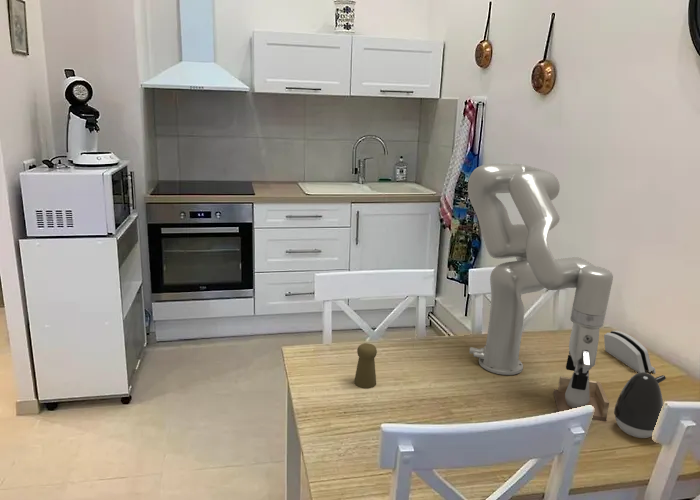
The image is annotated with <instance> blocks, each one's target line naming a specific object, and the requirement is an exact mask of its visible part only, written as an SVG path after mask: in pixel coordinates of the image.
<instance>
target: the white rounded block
mask: <svg viewBox="0 0 700 500" xmlns="http://www.w3.org/2000/svg"><path fill="white" fill-rule="evenodd" d="M603 339H604V351H605V352H606V353H608V354H609V355H611V356H612V357H614V358H616V359H617V360H618V361H620V362H622V363H623V364H625V365H626V366H628V367H629V368H630V369H632V370H634V371H635V372H637V373H640V372H645V373H653V374H654V373H655V374H656V373H657V372H656V368H655V367H654V366H652V364H651V359H650V355H649V351H648V349H647V347H645V346H644V345H643V344H642V343H641V342H640V341H639V340H637V339H636V338H635V337H633V336H631V335H630V334H628V333H626V332H624V331H621V330H617V329H616V330H611V331H610V332H606V333H605V334H604V336H603ZM651 371H652V372H651Z"/></svg>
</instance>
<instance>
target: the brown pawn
mask: <svg viewBox="0 0 700 500" xmlns="http://www.w3.org/2000/svg"><path fill="white" fill-rule="evenodd" d="M377 350H378V349H377V347H376V346H375V345H374V344H372V343H367V342H366V343H365V342H364V343H362V344H360V345H358V347H357V350H356V353H357V356H358V359H357V366H356V371H355V375H354V381H353V385H355V386H356V387H358V388H360V389H363V390H364V389H365V390H366V389H373V388H375V387H376V386H377V375H376V363H375V358H376V356H377V355H378V354H377V353H378V351H377Z"/></svg>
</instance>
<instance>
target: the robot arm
mask: <svg viewBox="0 0 700 500" xmlns="http://www.w3.org/2000/svg"><path fill="white" fill-rule="evenodd" d="M560 189H561V187H560V182H559V180H558V178H557V177H556V175H555V174H553V173H552V172H550V171H548V170H545V169H540V168H536V167H532V166H529V165H526V164H522V163H486V164H482V165H479V166H478V167H476V168H475V169H473V171H472V172H471V173H470V176H469V178H468V183H467V193H468V198H469V200H470V203H471V205H472V207H473V210H474V212H475V215H476V217H477V220H478V225H479V227H480V231H481V235H482V238H483V242H484V245H485V248H486V250H487V253H488V255H489V256H490V257H492V258H494V259H498V260H499V259H500V260H501V259H512V258H515V259H516V260H513V261H507V262H503V263H500V264H497V265H496V266H495V267H494V268H493V269H492V270H491V273H490V277H489V280H490V281H489V283H490V306H489V307H490V308H489V309H490V310H489V316H488V317H489V319H488V327H487V336H486V342H485V343H486V344H484V346H483V347H480V348H476V347H472V346H470V347H469V354H470V355H473V358H478V364H479V366H480V367H481V368H482V369H484V370H486V371H487V372H490V373H493V374H497V375H502V376H513V375H518V374H520V373H521V372H522V371H523V370H524V365H523V363H522V361H521V360H520V359H519V357H520V349H521V343H522V341H521V340H522V335H523V327H524V321H525V311H526V310H525V306H524V303H523V300H522V295H525V294H530V293H531V294H532V293H536V292H539V291H542V290H544V289H545V290H549V291H560V290H565V289H566V290H567V289H572V288H573V289H575V292H574V297H573V298H574V299H573V302H572V308H571V312H570V321H571V322H572V329H571V332H570V336H569V341H568V343H569V344H568V355H567V359H566V364H565V369H566V370H567V371H571V372H572V371H573V373H574V370H575V366H574V364H573V362H574V363H575V364H576V372H575V373H574V375H573V374H572V375H573V380H572V385H571V387H572V388H573V389H579V390H585V389H586V384H587V380H588V375H589V374H590V370H589V367H590V366H592V368H593V367H594V366H595V365H596V360H597V355H598V348H599V340H600V329H601V328H603V326H604V323H605V318H606V315H607V309H608V305H609V304H608V303H609V299H610V295H611V289H612V285H613V281H614V280H613V279H614V274H613V273H612V271H610V270H609V269H607V268H605V267H601V266H596V265H594V264H592V263H590V262H589V261H587V260H586V259H584V258H581V257H578V256H577V257H575V256H574V257H572V256H571V257H565V258H557V259H555V258H554V256H553V254H552V252H551V250H550V247H549V244H548V234H549V232H550V231H551V230H553V229H554V228H555V227H556V226H557V225H558V224H559V222H560V219H561V218H560V214H559V213H558V211H557V210H556V208H555V206H554V204H553V202H552V201H553V200H555V199H556V198H557V197H558V195H559V193H560ZM497 194H510V196H511V199H512V201H513V202H514V205H515V206H516V208H517V211H518V212H519V215H520V217H521V219H522V221H523V223H524V224H521V223H520V224H513V223H512V222H511V219H510V217H509V213H508V210H507V208H506V207H505V205H504V204H503V202H502V201H501V199H499V198H498V197H497ZM579 360H581V361H583V362H579ZM579 365H581V366H582V368H580V369H579ZM589 376H590V375H589Z"/></svg>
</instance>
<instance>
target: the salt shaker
mask: <svg viewBox="0 0 700 500" xmlns="http://www.w3.org/2000/svg"><path fill="white" fill-rule="evenodd" d="M579 362H583V361H581V360H579ZM573 364H574V366H575V370H574V371H573V373H572V375H571V377H570V378H571V380H570V383H569V385H568V387H567V390H566V392H565V398H566V402H567V405H568V406H570V407H571V408H577V407H581V406H585V405H587V404H588V403H589V401H590V396H589V380H590V375H588V380H587V384H586V389H585V390H579V389H573V388H572V387H571V385H572V380H573V375H574V373H575V372H576V364H575V363H574V362H573ZM580 368H582V366H581V365H579V369H580ZM592 368H593V367H592V366H590V367H589V371H590V370H591V369H592Z"/></svg>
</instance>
